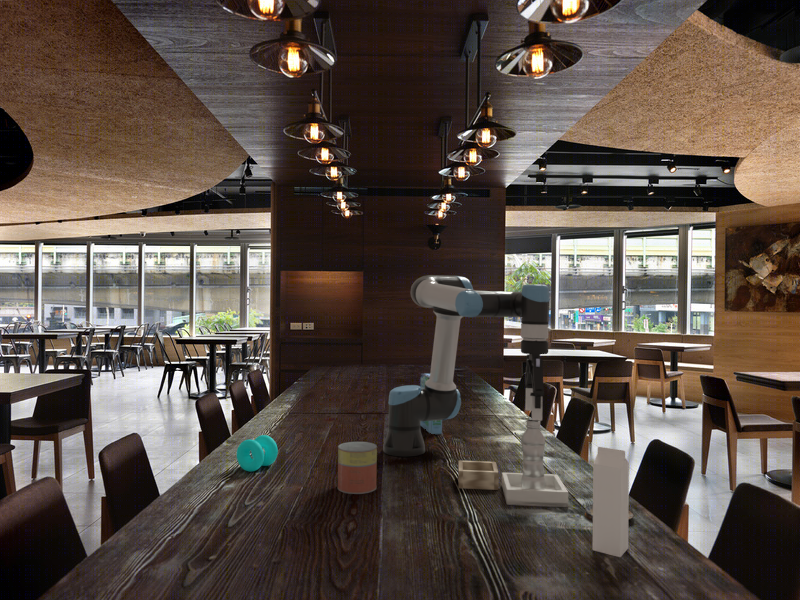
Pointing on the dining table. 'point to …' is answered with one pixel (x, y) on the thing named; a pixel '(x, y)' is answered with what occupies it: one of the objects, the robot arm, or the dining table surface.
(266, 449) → the turquoise yo-yo
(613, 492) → the milk
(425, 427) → the gum box
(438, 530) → the dining table surface
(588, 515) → the patterned ceramic bowl
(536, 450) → the plastic bottle
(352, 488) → the canned food
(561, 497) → the plastic tray
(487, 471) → the wooden collar
